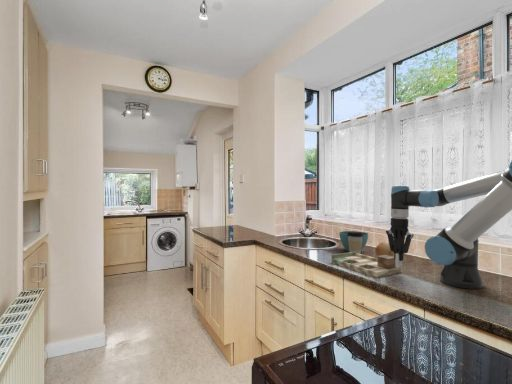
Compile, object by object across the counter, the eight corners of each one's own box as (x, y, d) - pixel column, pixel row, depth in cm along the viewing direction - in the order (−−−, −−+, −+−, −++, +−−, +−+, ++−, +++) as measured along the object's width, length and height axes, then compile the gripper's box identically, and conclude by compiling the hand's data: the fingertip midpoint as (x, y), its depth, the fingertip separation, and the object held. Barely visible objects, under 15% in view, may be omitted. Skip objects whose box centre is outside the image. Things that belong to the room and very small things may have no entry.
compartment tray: (400, 272, 135) (400, 263, 135) (376, 277, 127) (376, 268, 127) (354, 259, 161) (354, 251, 161) (331, 262, 152) (331, 254, 152)
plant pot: (333, 250, 183) (333, 232, 183) (349, 247, 194) (349, 230, 194) (358, 255, 169) (358, 236, 169) (373, 252, 180) (373, 233, 180)
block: (396, 267, 135) (396, 257, 135) (388, 269, 132) (388, 258, 132) (385, 264, 141) (385, 254, 140) (377, 266, 138) (377, 256, 138)
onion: (385, 262, 154) (385, 244, 154) (371, 258, 163) (371, 241, 163) (397, 261, 157) (398, 243, 157) (383, 257, 167) (384, 240, 167)
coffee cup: (364, 259, 161) (364, 233, 161) (347, 258, 163) (348, 233, 163) (361, 255, 171) (361, 231, 170) (345, 254, 172) (346, 230, 172)
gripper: (382, 216, 134) (381, 264, 135) (407, 219, 123) (406, 271, 123) (392, 216, 138) (391, 262, 138) (417, 218, 127) (416, 269, 127)
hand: (398, 266), depth 131 cm, fingers closed
